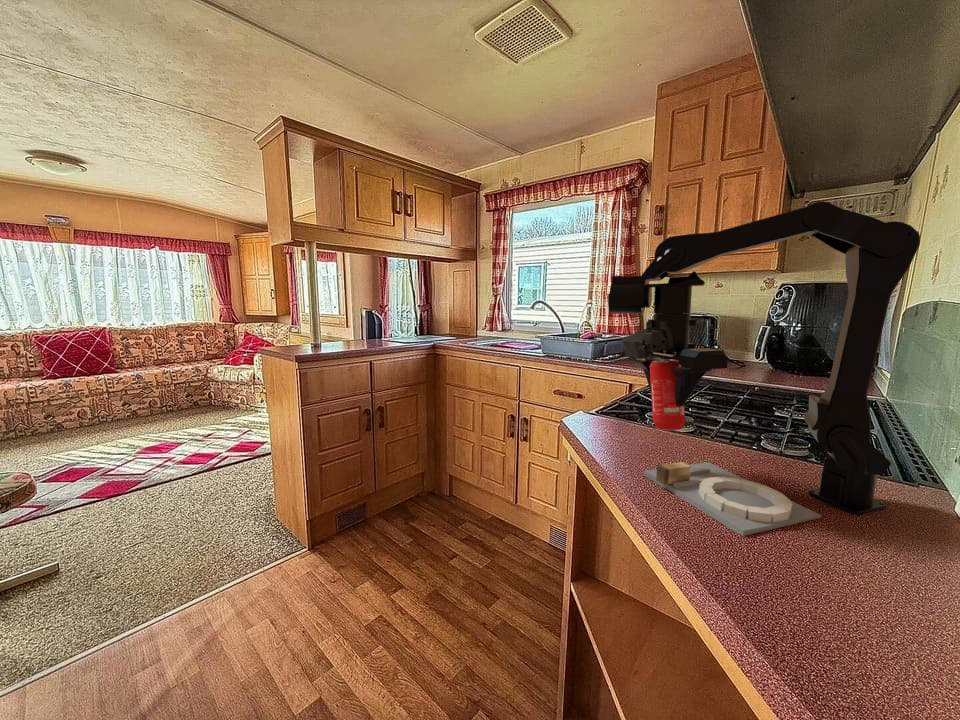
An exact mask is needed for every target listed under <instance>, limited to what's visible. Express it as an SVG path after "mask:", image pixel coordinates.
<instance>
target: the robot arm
mask: <svg viewBox="0 0 960 720" xmlns="http://www.w3.org/2000/svg"><path fill="white" fill-rule="evenodd" d="M803 236H810V237H811V238H815V240H816V239H817V240H818V241H819V242H821V243H823V244H824V245H826V246H828V247H829V248H831V249H832V250H834V251H837V252H839V253H841V254H844V255H845V260H844V261H845V278H846V282H847V290H848V296H847V301H846V303H845V304H846V305H845V310H844V312H843V313H844V315H843V318H842V322H841V323H842V324H841V327H840V331H839V335H838V341H837V345H836V350H835V354H834V359H833V364H832V368H831V372H830V376H829V381H828V385H827V386H826V389H825V390H824V392H823V393H822V394H821V396H820V397H819V396H815V395H813V394H810V395H809V397H808V410H807V413H806V414H805V415H804V416H803V419H804V421H805V423H806V424H807V425H808V427H807V428H808V430H809V432H810V433H811V435H812V436H813V437H814V439H815V440H816V442H817V443H818V444H819V445H820V446H821V448H822V449H823V450H824V451H825V452H826V453H827V455H825V457H824V459H823V465H822V471H821V476H820V482H819V488H813V489H808V491H807V493H808V495H810V496H812V497H815V498H817V499H820V500H822V501H824V502H826V503H829V504H831V505H834V506H836V507H838V508H841V509H843V510H845V511H846V512H850V513H852V514H855V515H860V514H865V513H871V512H875V511H879V510H884V509H886V508H887V504H886V503H883V502H880V501H878V500H875V499H874V498H875V492H876V487H877V479H878V476H884V475H885V473H886V471H887V470H888V469H889V468H890V466H891V464H892V462H891V461H890V460H889V459H888V458H887V457H886V456H885V455H884V454H882V452H880V451H879V450H878V449H877V448H876V447H875V446H874V445H873V444H872V443H871V440H872V432H871V431H872V424H871V423H872V420H871V419H872V418H871V412H870V406H869V401H868V391H869V387H870V383H871V380H872V379H871V378H872V375H873V370H874V366H875V362H876V359H877V354H878V350H879V347H880V342H881V339H882V333H883V329H884V325H885V320H886V317H887V313H888V308H889V304H890V301H891V296H892V294H893V292H894V291H895V289H896V287H897V286H898V285H899V283H900V282H901V280H903V278H904V276H905V275H906V273H907V272H908V270H909V268H910V266H911V264H912V262H913V260H914V258H915V256H916V254H917V252H918V250H919V248H920V246H921V245H920V244H921V235H920V233H919V231H918V230H917V229H915V228H914V227H913V226H912V225H911V224H908V223H905V222H903V221H894V220H893V221H888V222H886V221H882V220H880V219H878V218H875V217H873V216H870V215H866V214H863V213H859V212H855V211H852V210H848V209H845V208H842V207H839V206H836V205H835V204H833V203H831V202H829V201H823V200H821V201H816V202H812V203H811V204H809V205H806V206H804V207H800V208H798V209H793V210H790V211H785V212H783V213H780V214H776V215H773V216H768V217H765V218H762V219H758V220H757V219H756V220H754V221H751V222H747V223H743V224H741V225H737V226H732V227H730V228H726V229H725V228H724V229H721V230H718V231H713V232H702V233H698V232H697V233H688V234H681V235H673V236H668V237H666V238H664V239H663V240H661V241H660V242H659V244H658V245H657V246H656V249H655V252H654V258H653V260H652V261H651V263H650V264H649V265H648V266H647V267H646V269H645V270H644V272H643V273H642V274H641V275H635V276H634V275H633V276H632V275H631V276H622V275H613V276H612V278H611V281H612V282H611V284H610V287H609V292H608V294H607V307H608V308H607V309H608V312H609V314H610V315H611V314H612V315H613V314H619V315H620V314H638V315H639V314H644V312H645V310H646V309H650V308H651V305H652V302H653V301H652V298H653V289H654V299H653V300H654V302H653V317H652V318H653V319H652V318H650V319H647V321H646V325H645V329H642V330H639V331H636V332H634V333H632V334H629V335H627V336H625V337H623V338H621V342H622V346H623V352H622V357H626V358H631V359H632V358H635V359H632V361H633V363H635V364H637V365H638V366H639V367H640V368H641V369H642V371H643V373H644V374H645V378H646V381H647V384H648V387H649V391H650V392H651V381H650V364H651V361H655V360H678V362H679V364H680V365H679V367H670V369H671V370H672V372H673V373H674V374H675V376H676V404H677V406H683V405H684V406H685V404H686V402H687V400H688V399H689V397H690V396H691V394H692V393H693V391H694V389H695V387H697V385H698V383H699V382H700V381H701V379H703V377H704V376H705V375H706V374H707V372H711V371H712V370H716V369H717V370H718V369H728V362H729V361H728V359H729V358H728V354H727V353H726V352H725V351H724V349H717V348H707V347H704V348H695V343H692V342H691V343H690V329H691V328H690V327H692V326H693V327H695V326H696V325H697V319H694V318H693V319H692V318H691V312H692V311H691V310H692V295H693V294H692V293H693V287H704V286H705V284H706V282H705V281H704V280H703V279H702V278H701V277H699V274H698V273H697V272H696V271H695V270H693V271H692V272H691V273H690V274H689V275H688V276H670V275H679V274H683V273H686V272H688V271H691V270H692V269H694V268H698V267H700V266H702V265H704V264H707V263H708V262H711V261H713V260H715V259H717V258H720V257H725V256H727V255H730V254H735V253H740V252H743V251H748V250H750V249H755V248H759V247H762V246H767V245H771V244H776V243H778V242H782V241H783V242H784V241H787V240H791V239H795V238H799V237H803ZM669 276H670V277H669ZM667 277H669V278H668V282H666V283H665V282H664V283H663V282H662V283H650V282H660V281H663V279H665V278H667Z"/></svg>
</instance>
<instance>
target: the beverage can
mask: <svg viewBox="0 0 960 720" xmlns="http://www.w3.org/2000/svg"><path fill="white" fill-rule="evenodd" d="M679 365H680V364H679V362H678V360H672V359H666V360H655V361H651V364H650V381H651V391H650V393H651V397H650V398H651V409H652V422H653V424H654V426H655V429H658V430H661V431H678V430H682V429H684V425H685V424H686V415H685V414H686V412H685V404H684V405H683V406H677V404H676V376H675V374H674V373H673V372H672V370H671V369H670V367H679Z"/></svg>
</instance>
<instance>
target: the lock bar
mask: <svg viewBox="0 0 960 720" xmlns="http://www.w3.org/2000/svg"><path fill="white" fill-rule="evenodd" d="M689 465H690V464H687V463H686V462H684V461H680V462H673V463H664V464H658V465H656V469H657V475H656V480H657V481H659V482H661V483H662V484H664V485H665V484H672V483H676V482H683V481H689V480H690V469H691V466H689Z"/></svg>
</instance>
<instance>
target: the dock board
mask: <svg viewBox="0 0 960 720" xmlns="http://www.w3.org/2000/svg"><path fill="white" fill-rule="evenodd" d="M688 465H689V466H691V469H690V480H689V481H683V482H676V483H672V484H665V485H664V484H662V483H661V482H659V481H657V480H656V475H657V468H654V469H646V470H643V476H644V477H646V478H648V479H649V480H651V481H652V482H654V483H656V484H658V485H659V486H661V487H662V488H664V489H665V490H667V491H669V492H671V493H672V494H673V495H675V496H677V497H678V498H680V499H682V500H683V501H685V502H687V503H688V504H690V505H691V506H693V507H695V508H696V509H698V510H699V511H701V512H703V513H705V514H706V515H708V516H709V517H711V519H712V518H713V519H714V520H715V521H717V522H719V523H720V524H722V525H724V526H725V527H727V528H729V529H730V530H731V531H734V532H735V533H736V534H738V535H740V536H742V537H745V536H748V535H753V534H754V535H755V534H756V533H757V534H758V533H761V532H766V531H770V530H774V529H779V528H782V527H786V526H792V525H795V524H800V523H803V522H804V523H805V522H808V521H812V520H816V519H820V518H822V514H821V513H820V514H819V513H818V512H816V511H814V510H811V509H809V508H807V507H805V506H803V505H801V504H799V503H797V502H794V501H792V500H790V499H789V498H788V497H787V496H786V495H785V494H783V493H781V491H778V490H776V489H774V488H771V487H769V486H767V485H765V484H762V483H758V482H755V481H753V480H752V481H751V480H748V479H745V478H743V477H740V476H738V475H737V474H734V473H732V472H730V471H728V470H726V469H723V468H721V467H720V466H717V465H716V464H713V463H711V462H707V461H706V462H699V463H691V464H688Z"/></svg>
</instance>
